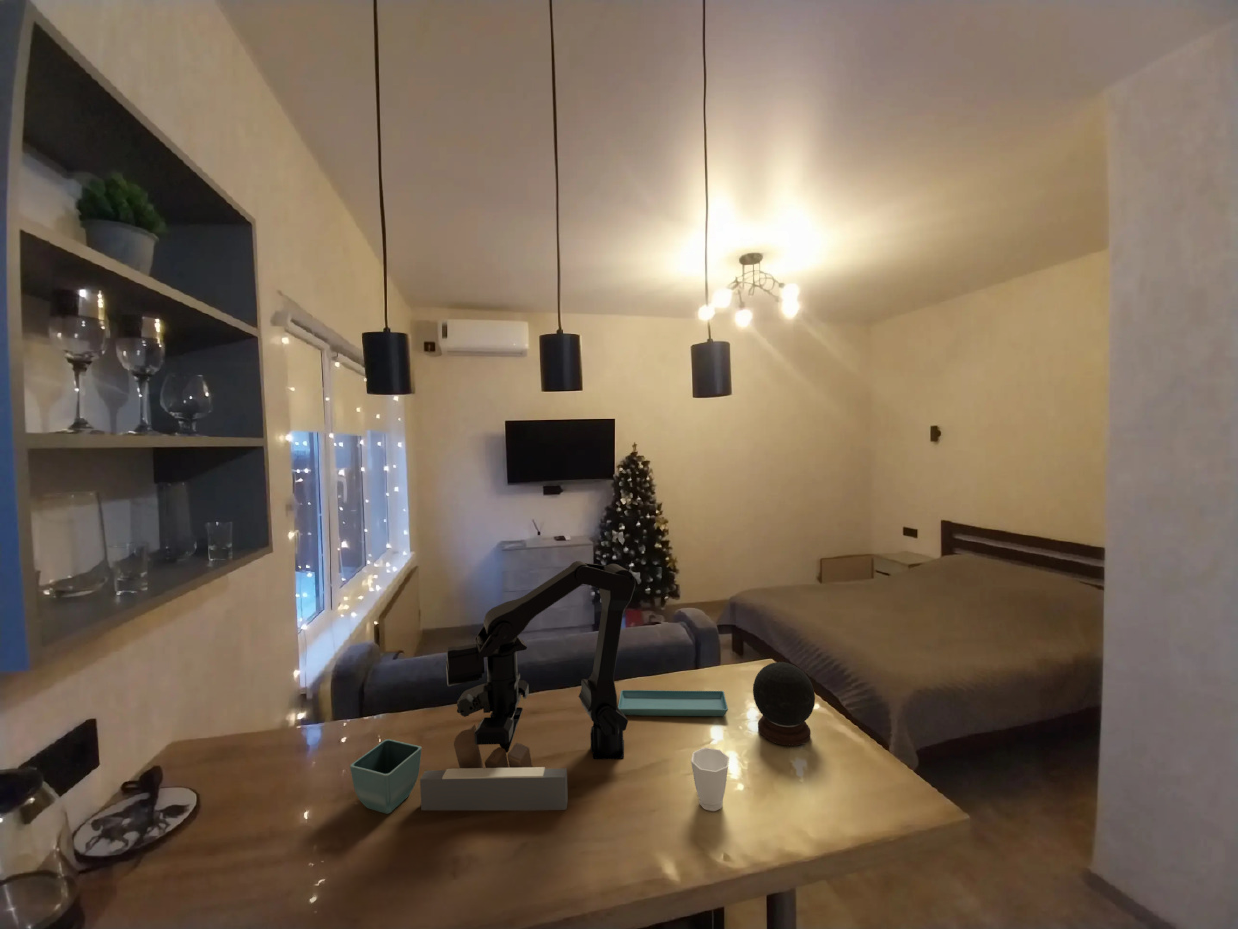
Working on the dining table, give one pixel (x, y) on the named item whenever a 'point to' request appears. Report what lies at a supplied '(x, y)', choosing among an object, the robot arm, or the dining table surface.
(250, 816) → the dining table surface
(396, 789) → the flower pot
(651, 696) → the shallow long dish
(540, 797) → the board
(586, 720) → the dining table surface
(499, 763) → the wooden block set
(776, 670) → the ball on wooden stand
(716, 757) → the cup
